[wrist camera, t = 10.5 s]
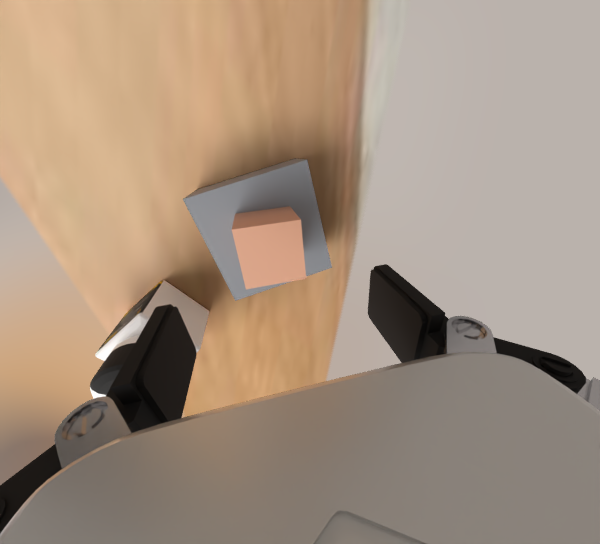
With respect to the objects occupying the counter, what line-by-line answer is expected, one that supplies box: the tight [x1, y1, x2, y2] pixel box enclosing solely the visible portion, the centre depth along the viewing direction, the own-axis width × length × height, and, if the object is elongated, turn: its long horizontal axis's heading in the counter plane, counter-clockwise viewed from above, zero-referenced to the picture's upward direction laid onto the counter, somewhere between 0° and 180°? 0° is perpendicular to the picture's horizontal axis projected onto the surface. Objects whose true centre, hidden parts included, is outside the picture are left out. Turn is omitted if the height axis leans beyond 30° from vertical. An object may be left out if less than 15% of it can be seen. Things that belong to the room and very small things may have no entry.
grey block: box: [183, 158, 332, 301], centre depth 25 cm, size 11×11×6 cm
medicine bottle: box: [90, 280, 209, 398], centre depth 25 cm, size 7×7×12 cm
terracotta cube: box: [232, 206, 306, 289], centre depth 20 cm, size 5×5×5 cm
